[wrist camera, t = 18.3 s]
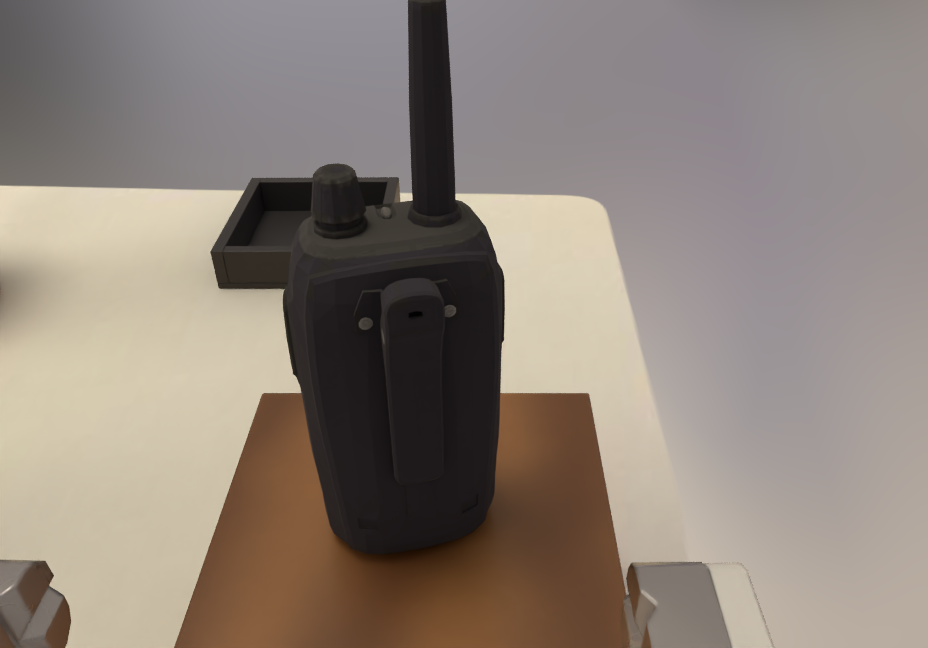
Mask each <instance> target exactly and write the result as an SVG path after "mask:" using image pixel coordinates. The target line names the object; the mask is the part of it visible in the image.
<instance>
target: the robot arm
mask: <svg viewBox="0 0 928 648" xmlns="http://www.w3.org/2000/svg"><path fill="white" fill-rule="evenodd" d="M53 576H54V575H53V573H52V572H51V570H50V568H49V567H48V565H47V563H46V561H32V560H0V648H65V646H66V644H67V640H68V635H69V630H70V624H71V617H70V609H69V605H68V603H67V601H66V599H65V597H64V595H62V594H61V593H59V592H58V591H56V590H55V589H53V588H51V587H50V586H49V584H50V582H51V580H52V578H53ZM626 580H627V585H628V591H629V595H627V596H626V597H625V598H623V601H622V608H621V631H620V634H621V644H622V648H774V645H773V642H772V639H771V637H770V633H769V631H768V628H767V625H766V622H765V619H764V616H763V614H762V611H761V608H760V605H759V602H758V599H757V596H756V594H755V591H754V588H753V585H752V582H751V579H750V577H749V574H748V571H747V569H746V568H745V567H744V566H743V565H742V564H741V563H702V562H649V563H631V565H630V566H629V568H628V573H627V578H626Z"/></svg>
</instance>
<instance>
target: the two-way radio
mask: <svg viewBox="0 0 928 648" xmlns="http://www.w3.org/2000/svg"><path fill="white" fill-rule="evenodd" d="M408 32H409V111H410V139H411V168H412V169H411V170H412V195H413V201H406V202H398V203H389V204H380V205H373V206H365V203H364V200H363V197H362V193H361V190H360V186H359V183H358V179H357V176H356V173H355V170H353V168H351V167H350V166H348V165H345V164H328V165H325V166H322V167H320V168H319V169H318V170H317V171H316V172H315V173H314V174H313V183H312V201H311V213H312V216H311V217H309V218H307V219H306V220H304V221H303V222H302V224H301V225H300V227H299V229H298V231H297V232H296V234H295V236H294V238H293V243H292V251H291V259H290V265H289V274H288V286H286V287H285V290H284V294H283V311H284V320H285V328H286V336H287V342H288V348H289V354H290V359H291V365H292V369H293V374H294V375H295V376H296V377H297V379H298V382H299V384H300V387H301V392H302V398H303V404H304V410H305V415H306V421H307V427H308V433H309V438H310V443H311V448H312V453H313V457H314V461H315V465H316V468H317V472H318V476H319V481H320V485H321V489H322V493H323V498H324V504H325V509H326V513H327V516H328V520H329V524H330V527H331V529H332V531H333V533H334V534H335V535H336V536H338V537H339V538H340V539H342V540H343V541H344V542H346V543H347V544H348V545H349V546H350V548H351V549H354V550H357V551H360V552H363V553H366V554H389V553H396V552H403V551H409V550H414V549H419V548H424V547H429V546H433V545H437V544H441V543H445V542H448V541H452V540H456V539H459V538H461V537H463V536H465V535H467V534H470V533H472V532H474V531H475V530H476V529H477V528H478V527H479V526H480V525H481V524H482V523H483V522H484V521H485V518H486V515H487V511H488V509H489V507H490V505H491V503H492V500H493V497H494V492H495V471H496V458H497V448H498V439H499V421H500V380H501V348H502V342H503V341H504V313H505V299H504V275H503V271H502V269H501V267H500V265H499V264H498V263H497V258H496V254H495V251H494V248H493V245H492V242H491V239H490V237H489V234H488V232H487V229H486V227H485V225H484V224H483V223H482V222H481V220H480V219H479V218H478V217H477V215H476V214H475V213H474V212H473V211H472V209H471V208H470V207H469V206H468V205H466V204H465V203H463V202H462V201H458V200H455V170H454V143H453V117H452V95H451V78H450V62H449V45H448V29H447V13H446V0H408Z"/></svg>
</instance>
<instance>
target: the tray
mask: <svg viewBox="0 0 928 648" xmlns="http://www.w3.org/2000/svg"><path fill="white" fill-rule="evenodd" d="M357 179H358V183H359V186H360V190H361V193H362V197H363V200H364V203H365V206H373V205H380V204H389V203H398V202H400V191H399V178H397V177H393V178H392V177H389V178H387V177H383V178H382V177H381V178H357ZM312 183H313V178H252V179H251V181H250V183H249V184H248V186H247V188H246V190H245V191H244V193H243V195H242V197H241V198H240V200H239V202H238V204H237V205H236V207H235V209H234V211H233V213H232V214H231V216H230V218H229V220H228V222H227V223H226V225H225V227H224V229H223V230H222V232H221V234H220V236H219V238H218V239H217V241H216V243H215V245H214V246H213V248H212V250H211V256H212V260H213V265H214V269H215V273H216V278H217V282H218V287H219V288H285V287H286V286H288V274H289V265H290V259H291V251H292V243H293V238H294V236H295V234H296V232H297V231H298V229H299V227H300V225H301V224H302V222H303V221H304V220H306V219H307V218H309V217H311V216H312V213H311V201H312Z"/></svg>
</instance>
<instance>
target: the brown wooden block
mask: <svg viewBox="0 0 928 648" xmlns="http://www.w3.org/2000/svg"><path fill="white" fill-rule="evenodd" d="M625 597H626V592H625V586H624V581H623V575H622V570H621V565H620V559H619V554H618V548H617V543H616V538H615V532H614V527H613V521H612V516H611V510H610V505H609V500H608V494H607V489H606V483H605V478H604V473H603V467H602V462H601V456H600V451H599V446H598V440H597V435H596V429H595V424H594V418H593V413H592V408H591V402H590V397H589V394H587V393H500V421H499V439H498V448H497V458H496V471H495V492H494V497H493V500H492V503H491V505H490V507H489V509H488V511H487V515H486V518H485V521H484V522H483V523H482V524H481V525H480V526H479V527H478V528H477V529H476V530H475V531H474V532H472V533H470V534H467V535H465V536H463V537H461V538H459V539H456V540H452V541H448V542H445V543H441V544H437V545H433V546H429V547H424V548H419V549H414V550H409V551H403V552H396V553H389V554H366V553H363V552H360V551H357V550H354V549H351V548H350V546H349V545H348V544H347V543H346V542H344V541H343V540H342V539H340V538H339V537H338V536H336V535H335V534H334V533H333V531H332V529H331V527H330V524H329V520H328V516H327V513H326V509H325V504H324V498H323V493H322V489H321V485H320V481H319V476H318V472H317V468H316V465H315V461H314V457H313V453H312V448H311V443H310V438H309V433H308V427H307V421H306V415H305V410H304V404H303V398H302V393H264V394H262V396H261V399H260V402H259V405H258V408H257V411H256V414H255V417H254V420H253V422H252V425H251V428H250V431H249V434H248V437H247V440H246V443H245V445H244V448H243V451H242V454H241V457H240V460H239V463H238V466H237V468H236V471H235V474H234V477H233V480H232V483H231V486H230V489H229V492H228V494H227V497H226V500H225V503H224V506H223V509H222V512H221V515H220V517H219V520H218V523H217V526H216V529H215V532H214V535H213V538H212V540H211V543H210V546H209V549H208V552H207V555H206V558H205V561H204V563H203V566H202V569H201V572H200V575H199V578H198V581H197V584H196V587H195V589H194V592H193V595H192V598H191V601H190V604H189V607H188V610H187V612H186V615H185V618H184V621H183V624H182V627H181V630H180V633H179V635H178V638H177V641H176V644H175V647H174V648H622V644H621V634H620V631H621V608H622V601H623V598H625Z"/></svg>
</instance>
